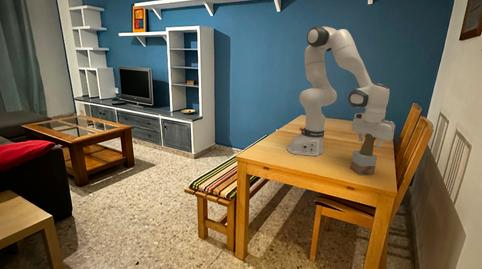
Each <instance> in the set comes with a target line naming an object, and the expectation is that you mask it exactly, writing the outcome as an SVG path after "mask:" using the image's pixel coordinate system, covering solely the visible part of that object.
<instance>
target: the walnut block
mask: <svg viewBox="0 0 482 269" xmlns="http://www.w3.org/2000/svg"><path fill="white" fill-rule="evenodd" d="M350 162H351V163H350V166H349V167H350V168H349V169H351V170H352V171H353V172H355V174H357V175H358V176H371V175H372V176H373V175H374V174H375V169H376V165H375V166H359V165H358V164H357V163H355V162H354V161H353V160H352V159H351V160H350Z"/></svg>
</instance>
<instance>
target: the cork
mask: <svg viewBox="0 0 482 269" xmlns="http://www.w3.org/2000/svg"><path fill="white" fill-rule="evenodd" d="M364 138H365V139H364V140H363V143H362V146H361V148H360V150H359V151H360V153H361V154H363V155H366V156H372V154H373V155H374V153H373V152H374V147H375V146H374V145H375V141H376V140H377V138H375V137H373V136H372V135H371V134H366V135H365V134H364Z"/></svg>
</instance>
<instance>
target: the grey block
mask: <svg viewBox="0 0 482 269" xmlns="http://www.w3.org/2000/svg"><path fill="white" fill-rule="evenodd" d="M377 159H378V156H377V155H375V154H374V153H373V154H372V156H366V155H363V154H361V153H360V150H353V151H352V156H351V161H352V160H353V161H354V162H355V163H357V164H358V165H359V166H375V167H376V164H377Z"/></svg>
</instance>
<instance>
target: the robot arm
mask: <svg viewBox="0 0 482 269" xmlns="http://www.w3.org/2000/svg"><path fill="white" fill-rule="evenodd" d="M306 41H307V44H308V45H307V47H306V48H305V50H304V68H305V77H306V78H305V79H306V80H307V81H308V82H309V83H310V84H311V86H312V87H310V88H307V89H304V90H302V91H301V92H300V93H299V100H298V101H299V103H300V105H301V106H302V107H303V109H304V112H305V126H304V128H303V127H299V131H300V132H301V133H299V134H298V135H296V136H294V137H293V138H292V139H291V142H290V144H287V145H286V150H287V152H289V153H290V154H292V155H298V156H299V155H300V156H309V157H318V156H319V155H322V154H324V147H323V145H324V144H323V143H324V142H323V139H324V137H325V123H326V116H325V114H323V112H322V107H326V106H330V105H333V104H334V103H335V102H337V98H338V94H337V93H338V92H337V91H336V90H335V89H334V88H333V87H332V86H331V84H330V82H329V79H328V76H327V71H326V64H325V63H326V61H325V52H330V51H332V54H333V57H334V60H335V62H336V64H337V66H338V67H339V68H341V69H344V70H345V71H348V72H350V73H351V74H352V75H354V77H355V79H356V81H357V84H358V85H359V88H354V89H353V90H351V91H350V92H349V93H348V96H347V100H348V104H349V105H350V106H351V107H353V108H356V109H359V108H365V111H363V112H359V113H355V114H354V118H353V120H352V122H351V128H350V129H351V131H353V132H355V133H356V135H357V141H358V142H364V137H363V136H362V135H364V136H365V135H366V134H371V135H372V136H373V137H375V138H376V139H378V143H377V142H376V144H375V147H376V148H381V145H382V144H383V143H384V142H385V141H386V142H390V141H392V140H394V136H395V130H396V124H395V123H394V122H393V121H391V120H387V119H385V117H386V112H387V109H386V108H387V106H388V103H389V99H390V87H389V86H388V85H387V84H384V83H380V82H374V81H373V79H372V78H371V75H370V73H369V71H368V68H367V67H366V64H365V63H364V61H363V60H362V58H361V56H360V54H359V51H358V48H357V46H356V44H355V40H354V39H353V36H352V34H351V33H350V32H349V30H347V29H345V28H341V29H338V28H335V27H334V28H333V27H330V26H321V25H318V26H317V25H316V26H313V27H311V28H310V29H309V30H308V31H307V34H306Z"/></svg>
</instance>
